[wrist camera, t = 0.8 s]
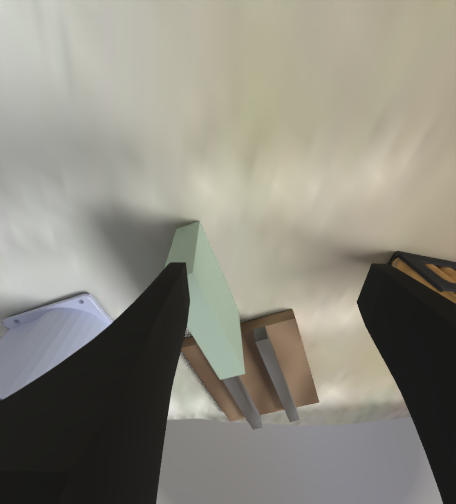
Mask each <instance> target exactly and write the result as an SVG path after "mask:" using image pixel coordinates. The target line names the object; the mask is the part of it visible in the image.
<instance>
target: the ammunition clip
mask: <svg viewBox="0 0 456 504" xmlns="http://www.w3.org/2000/svg"><path fill="white" fill-rule="evenodd" d="M389 265H391V266H393V267H395V268H397V269H399V270H400V271H402V272H404V273H406V274H407V275H409V276H411V277H412V278H414V279H416V280H417V281H419V282H421V283H422V284H424V285H426V286H427V287H429V288H431V289H432V290H434V291H436V292H437V293H439V294H441V295H442V296H444V297H446V298H447V299H449V300H451V301H452V302H454V303H456V262H452V261H447V260H442V259H437V258H431V257H426V256H421V255H416V254H411V253H405V252H400V251H398V252H396V253H395V255H394V256H393V258H392V259H391V261H390V262H389Z"/></svg>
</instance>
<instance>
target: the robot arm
mask: <svg viewBox="0 0 456 504" xmlns="http://www.w3.org/2000/svg"><path fill="white" fill-rule="evenodd" d="M81 300H83V301H81ZM357 304H358V307H359V310H360V313H361V316H362V318H363V321H364V323H365V326H366V328H367V330H368V332H369V334H370V335H371V337H372V339H373V341H374V343H375V345H376V347H377V348H378V350H379V352H380V354H381V356H382V358H383V359H384V361H385V363H386V365H387V367H388V369H389V370H390V372H391V374H392V376H393V378H394V380H395V382H396V384H397V386H398V388H399V390H400V392H401V394H402V396H403V398H404V401H405V403H406V405H407V408H408V410H409V412H410V415H411V417H412V419H413V422H414V424H415V426H416V429H417V432H418V434H419V437H420V440H421V442H422V445H423V447H424V450H425V452H426V455H427V458H428V460H429V464H430V466H431V469H432V472H433V475H434V478H435V481H436V483H437V486H438V489H439V492H440V495H441V498H442V501H443V504H456V303H454V302H452V301H451V300H449V299H447V298H446V297H444V296H442V295H441V294H439V293H437V292H436V291H434V290H432V289H431V288H429V287H427V286H426V285H424V284H422V283H421V282H419V281H417V280H416V279H414V278H412V277H411V276H409V275H407V274H406V273H404V272H402V271H400V270H399V269H397V268H395V267H393V266H391V265H389V264H372V265H371V267H370V270H369V272H368V275H367V277H366V280H365V282H364V285H363V287H362V290H361V293H360V295H359V298H358V300H357ZM189 307H190V294H189V285H188V277H187V268H186V262H170V263H169V264H168V265H167V266H166V267H165V268H164V270H163V271H162V272H161V273H160V274H159V275H158V277H157V278H156V279H155V280H154V281H153V282H152V283H151V285H150V286H149V287H148V288H147V289H146V290H145V291H144V292H143V293H142V294H141V295H140V296H139V297H138V298H137V300H136V301H135V302H134V303H132V304H131V305H130V306H129V307H128V308H127V309H126V310H125V311H124V312H123V313H122V314H121V315H120V316H119V317H118V318H117V319H116V320H115V321H114V322H113V321H112V320H111V318H110V317H109V316H108V315H107V314H106V312H105V311H104V310H103V309H102V308H101V306H100V305H99V304H98V303H97V302H96V300H95V299H94V298H93V297H92V296H91V295H90V294H81V295H78V296H75V297H72V298H69V299H66V300H62V301H59V302H56V303H53V304H50V305H46V306H43V307H40V308H37V309H34V310H30V311H27V312H24V313H21V314H18V315H15V316H11V317H8V318H6V319H4V321H3V322H2V323H3V325H4V326H5V327H6V328H8V329H9V330H8V331H7V332H6V333H5V334H4V335H3V336H2V337H1V339H0V504H156V498H157V491H158V483H159V475H160V467H161V459H162V452H163V444H164V437H165V430H166V423H167V416H168V410H169V403H170V397H171V390H172V385H173V381H174V376H175V372H176V368H177V364H178V360H179V356H180V352H181V348H182V344H183V340H184V336H185V332H186V327H187V323H188V315H189Z"/></svg>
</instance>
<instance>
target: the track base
mask: <svg viewBox="0 0 456 504" xmlns="http://www.w3.org/2000/svg"><path fill="white" fill-rule="evenodd" d="M240 329H241V339H242V349H243V359H244V368H245V374H242V375H238V376H234V377H230V378H226V379H221V380H220V379H219V377H218V376H217V374H216V373H215V371H214V369H213V368H212V366H211V365H210V363H209V361H208V360H207V358H206V356H205V355H204V353H203V352H202V350H201V348H200V347H199V345H198V344H197V342H196V340H195V339H194V337H193V336H191V337H187V338H184V340H183V344H182V348H181V351H182V352H183V354H184V355H185V356H186V358H187V359H188V361H189V362H190V364H191V365H192V367H193V368H194V370H195V371H196V372H197V374H198V375H199V377H200V378H201V380H202V381H203V383H204V384H205V386H206V387H207V388H208V390H209V391H210V393H211V394H212V396H213V397H214V399H215V400H216V402H217V403H218V404H219V406H220V407H221V409H222V410H223V412H224V413H225V415H226V416H227V418H228V419H229V420H230V421H234V420H239V419H243V418H246V419H247V421H248V422H249V424H250V425H251V427H252V429H257V428H262V424H261V416H260V415H262V414H267V413H272V412H276V411H281V410H285V412H286V414H287V416H288V419H289V421H290V422H292V421H296V420H299V417H298V413H297V409H296V407H300V406H304V405H309V404H314V403H319V400H318V396H317V393H316V389H315V386H314V382H313V378H312V375H311V371H310V368H309V364H308V361H307V357H306V354H305V350H304V347H303V343H302V340H301V336H300V333H299V329H298V325H297V322H296V318H295V316H294V313H293V310H288V311H284V312H280V313H277V314H273V315H269V316H265V317H262V318H258V319H254V320H251V321H247V322H243V323H240Z"/></svg>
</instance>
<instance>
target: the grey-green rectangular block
mask: <svg viewBox="0 0 456 504" xmlns="http://www.w3.org/2000/svg"><path fill="white" fill-rule="evenodd" d="M170 262H186V268H187V277H188V285H189V294H190V307H189V315H188V323H187V327H188V329H189V331H190V332H191V334H192V336H193V337H194V339H195V340H196V342H197V344H198V345H199V347H200V348H201V350H202V352H203V353H204V355H205V356H206V358H207V360H208V361H209V363H210V365H211V366H212V368H213V369H214V371H215V373H216V374H217V376H218V377H219V379H220V380H221V379H226V378H230V377H234V376H238V375H242V374H245V368H244V359H243V349H242V339H241V329H240V319H239V309H238V306H237V304H236V302H235V299H234V297H233V295H232V293H231V290H230V288H229V286H228V283H227V281H226V279H225V277H224V274H223V272H222V270H221V268H220V265H219V263H218V261H217V258H216V256H215V254H214V252H213V249H212V247H211V245H210V243H209V240H208V238H207V236H206V233H205V231H204V229H203V227H202V224H201V222H200V221H198V222H195V223H192V224H189V225H186V226H183V227H180V228H177V229H176V232H175V235H174V238H173V242H172V245H171V248H170V251H169V255H168V258H167V261H166V264H165V267H166V266H167V265H168V264H169V263H170ZM165 267H164V268H165Z"/></svg>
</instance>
